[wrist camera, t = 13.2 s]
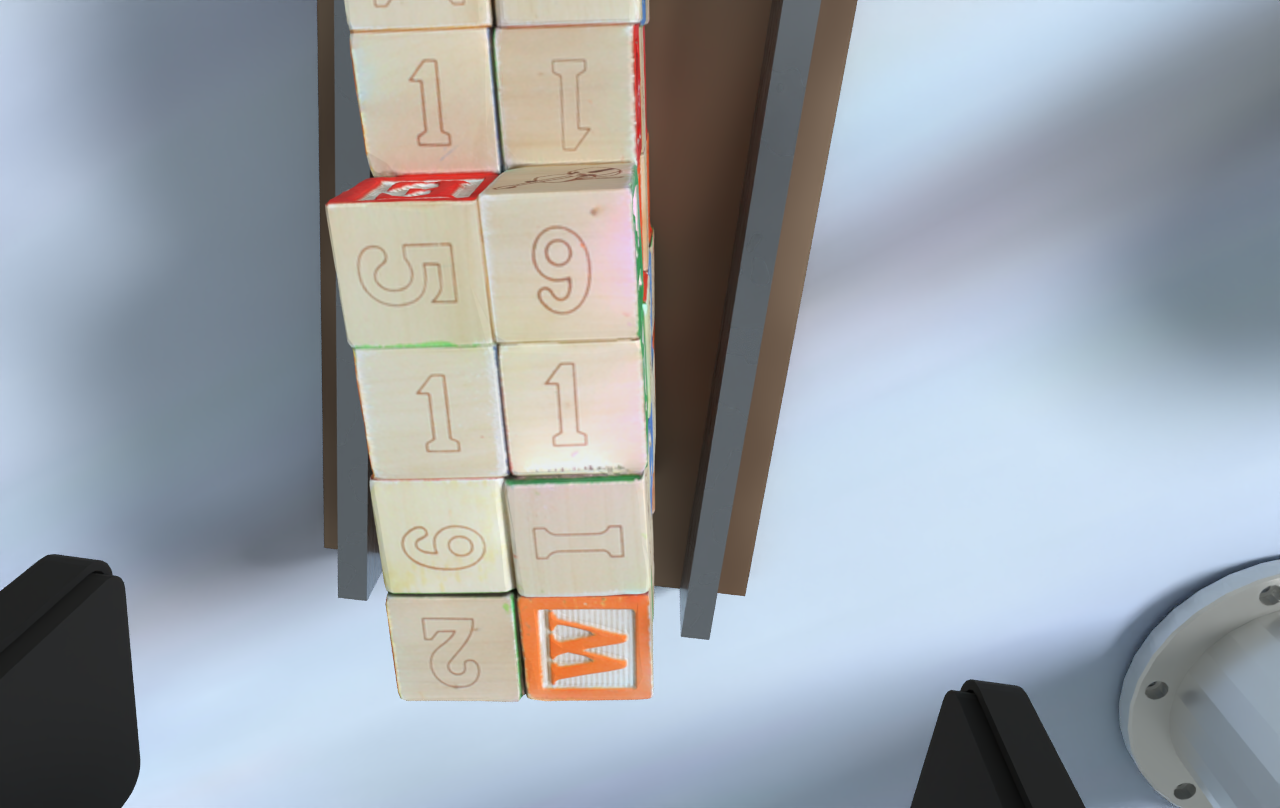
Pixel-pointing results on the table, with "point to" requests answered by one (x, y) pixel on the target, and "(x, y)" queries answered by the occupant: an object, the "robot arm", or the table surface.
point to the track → (657, 272)
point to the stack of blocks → (506, 341)
